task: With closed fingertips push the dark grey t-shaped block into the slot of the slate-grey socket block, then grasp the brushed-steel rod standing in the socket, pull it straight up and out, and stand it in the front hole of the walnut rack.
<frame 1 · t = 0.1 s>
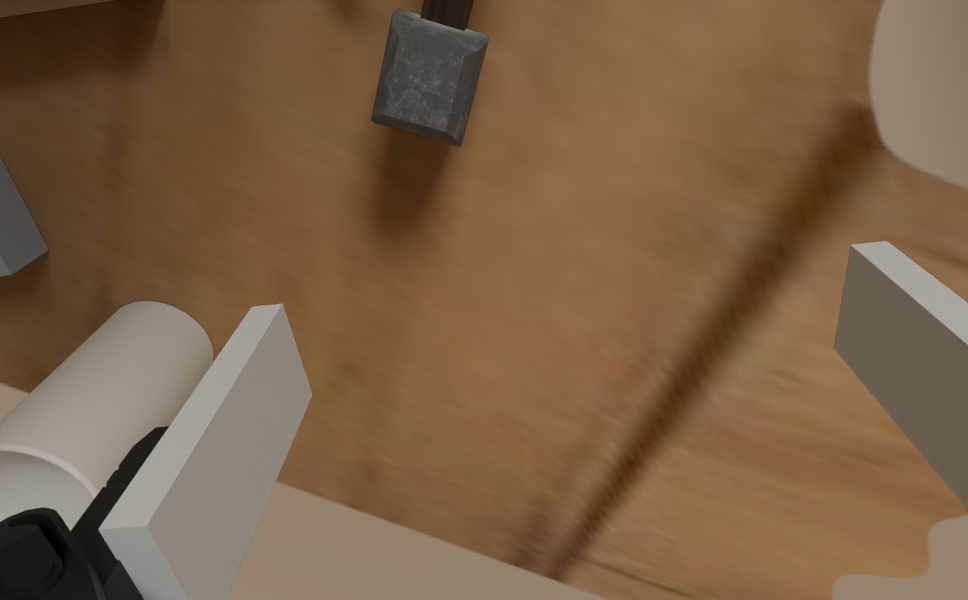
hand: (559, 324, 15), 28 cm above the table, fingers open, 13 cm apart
cup: (162, 344, 50), on the table
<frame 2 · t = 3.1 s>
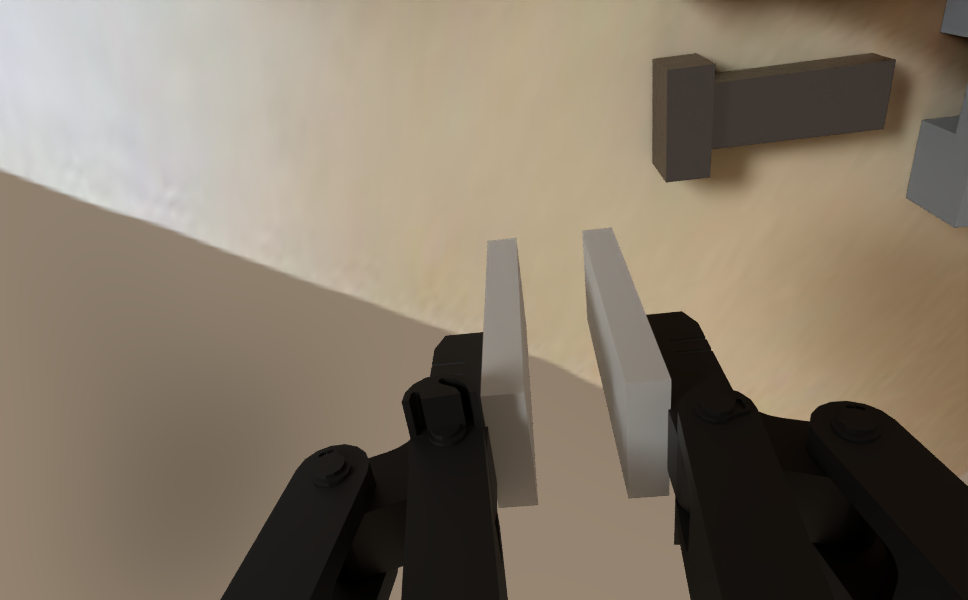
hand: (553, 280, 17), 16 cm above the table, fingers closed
dark grey t-shaped block: (769, 106, 29), point 2 cm above the table, slide at 0.0 cm
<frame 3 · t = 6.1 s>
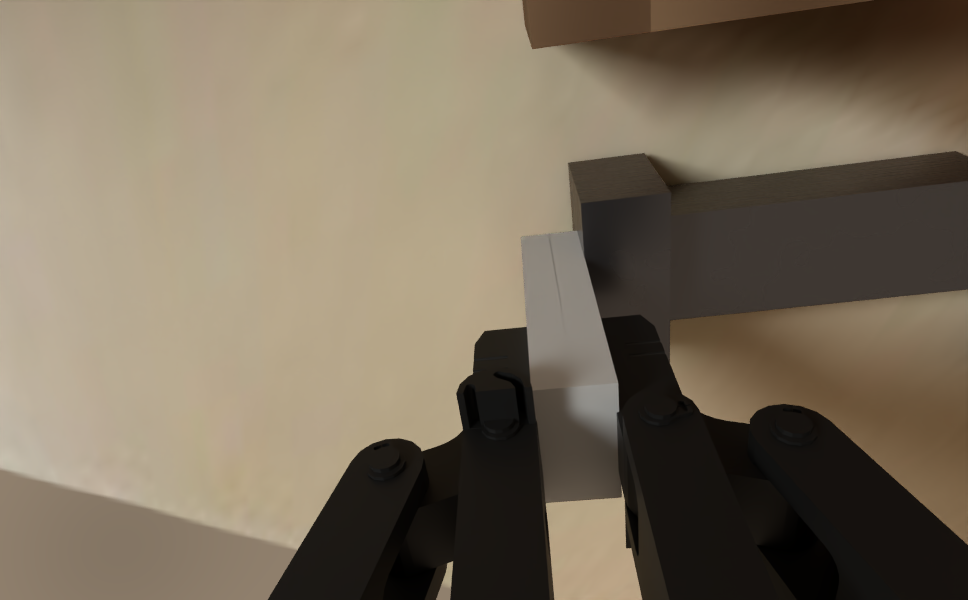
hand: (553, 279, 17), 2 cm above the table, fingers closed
dark grey t-shaped block: (774, 249, 16), point 2 cm above the table, slide at 0.8 cm, touching gripper
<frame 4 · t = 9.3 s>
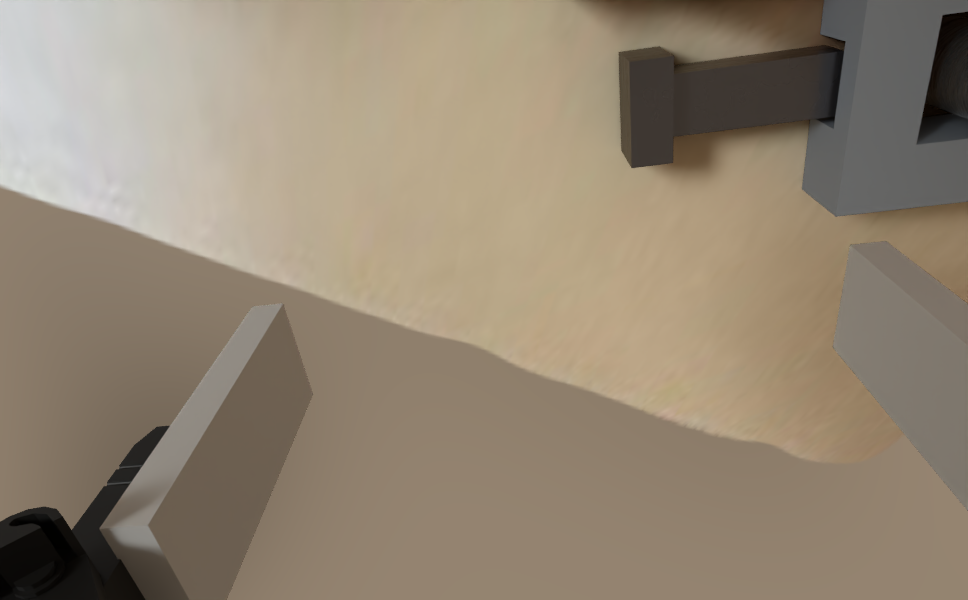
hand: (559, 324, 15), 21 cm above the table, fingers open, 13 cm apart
socket block: (940, 59, 31), on the table
dark grey t-shaped block: (728, 96, 31), point 2 cm above the table, slide at 3.2 cm
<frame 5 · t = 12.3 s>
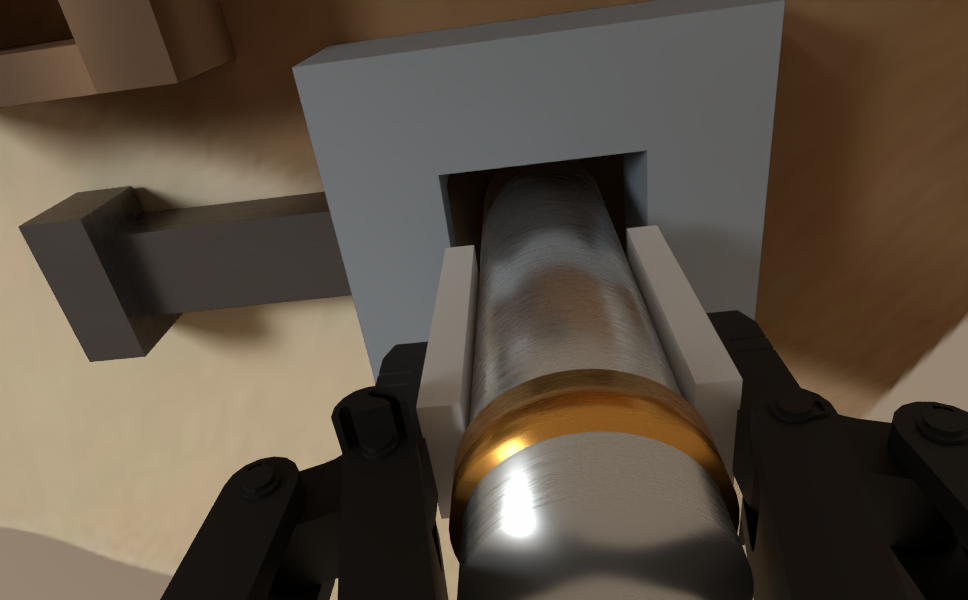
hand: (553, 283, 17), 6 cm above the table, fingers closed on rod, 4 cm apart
socket block: (541, 206, 22), on the table
dark grey t-shaped block: (222, 261, 21), point 2 cm above the table, slide at 3.2 cm
rod: (559, 319, 15), in the socket block, touching gripper
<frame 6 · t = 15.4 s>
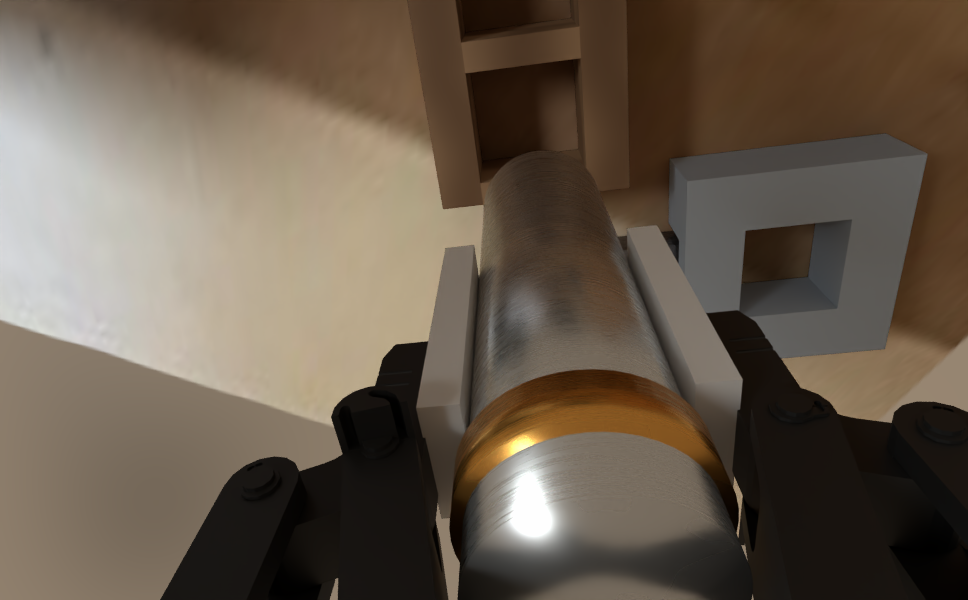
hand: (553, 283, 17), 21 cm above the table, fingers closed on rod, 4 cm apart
socket block: (766, 241, 39), on the table
dark grey t-shaped block: (594, 272, 38), point 2 cm above the table, slide at 3.2 cm
rack: (519, 39, 33), on the table
rod: (559, 319, 15), point 23 cm above the table, touching gripper
when the fingers open (7 cm above the table, at t = 18.7 s): rod drops 1 cm, resting in rack.
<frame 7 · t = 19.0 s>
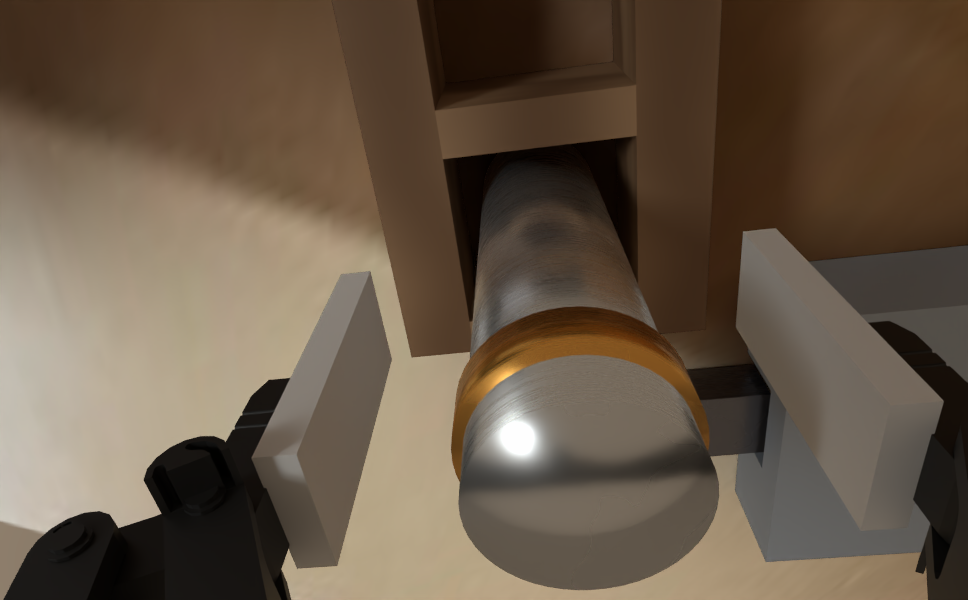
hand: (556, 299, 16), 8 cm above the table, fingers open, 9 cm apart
socket block: (889, 378, 27), on the table
dark grey t-shaped block: (639, 426, 26), point 2 cm above the table, slide at 3.2 cm
rack: (530, 94, 21), on the table
rod: (552, 284, 16), in the rack
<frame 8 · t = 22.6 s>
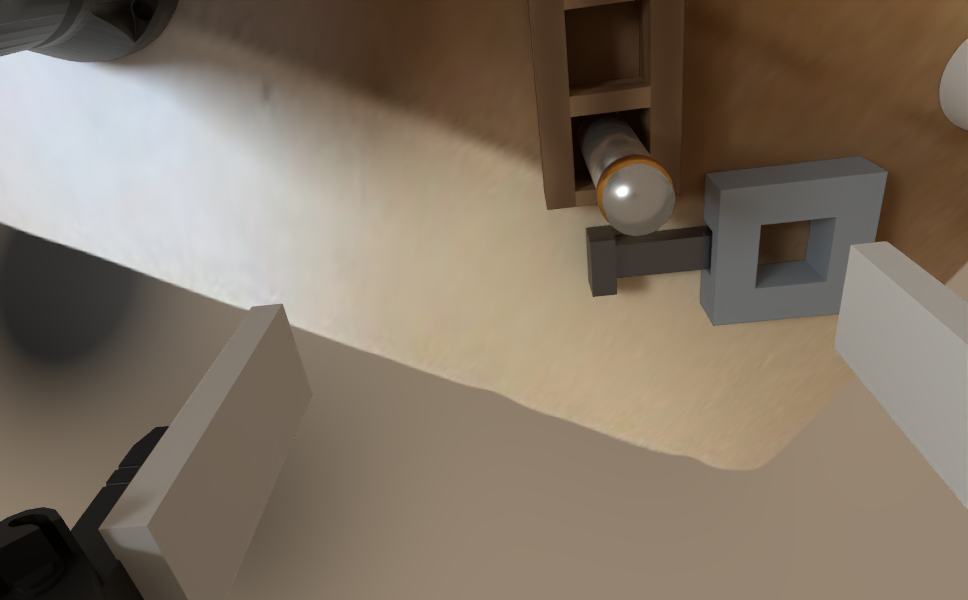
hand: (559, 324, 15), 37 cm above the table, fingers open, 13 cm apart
socket block: (775, 233, 53), on the table
dark grey t-shaped block: (649, 255, 52), point 2 cm above the table, slide at 3.2 cm
rack: (602, 90, 48), on the table
rod: (618, 164, 43), in the rack
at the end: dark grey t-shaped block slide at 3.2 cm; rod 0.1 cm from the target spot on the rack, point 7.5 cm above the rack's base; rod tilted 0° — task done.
